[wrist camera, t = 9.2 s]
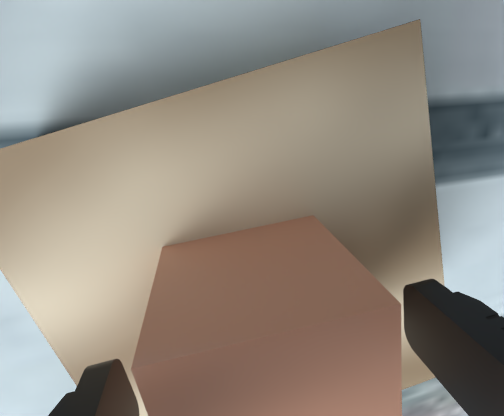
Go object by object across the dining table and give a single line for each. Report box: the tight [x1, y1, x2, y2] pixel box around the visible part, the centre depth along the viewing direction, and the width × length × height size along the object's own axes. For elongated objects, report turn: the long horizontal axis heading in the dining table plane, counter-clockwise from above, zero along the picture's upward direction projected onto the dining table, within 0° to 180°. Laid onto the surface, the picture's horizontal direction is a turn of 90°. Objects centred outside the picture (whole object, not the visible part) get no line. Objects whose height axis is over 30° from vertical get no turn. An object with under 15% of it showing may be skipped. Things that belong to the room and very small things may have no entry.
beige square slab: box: [0, 19, 444, 416], centre depth 14 cm, size 14×14×6 cm
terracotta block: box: [131, 215, 402, 416], centre depth 9 cm, size 5×5×5 cm
